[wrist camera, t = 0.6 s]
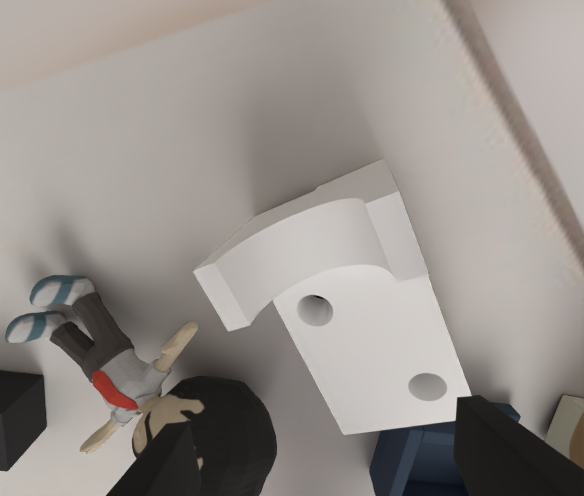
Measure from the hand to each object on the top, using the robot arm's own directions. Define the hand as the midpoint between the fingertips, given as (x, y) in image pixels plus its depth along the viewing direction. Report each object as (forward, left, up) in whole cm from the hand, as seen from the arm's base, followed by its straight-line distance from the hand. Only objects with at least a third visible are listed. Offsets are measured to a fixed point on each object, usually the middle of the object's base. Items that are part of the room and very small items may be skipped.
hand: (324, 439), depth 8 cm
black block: (-10, +17, -10) cm, 22 cm away
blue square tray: (-9, -11, -10) cm, 17 cm away
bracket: (0, -3, -10) cm, 10 cm away
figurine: (-6, +7, -10) cm, 14 cm away
